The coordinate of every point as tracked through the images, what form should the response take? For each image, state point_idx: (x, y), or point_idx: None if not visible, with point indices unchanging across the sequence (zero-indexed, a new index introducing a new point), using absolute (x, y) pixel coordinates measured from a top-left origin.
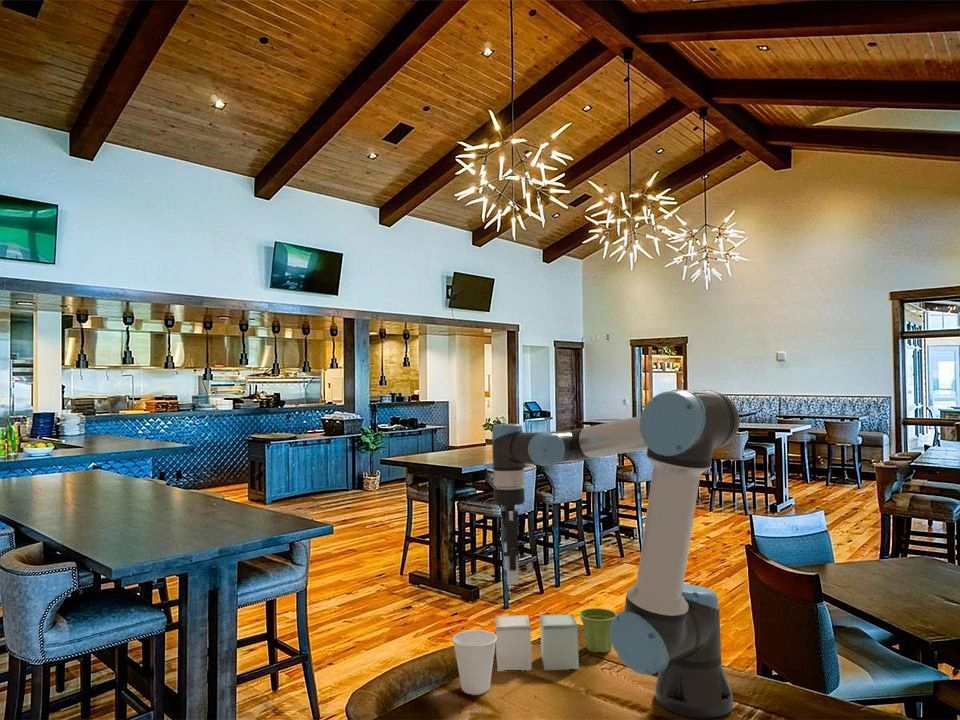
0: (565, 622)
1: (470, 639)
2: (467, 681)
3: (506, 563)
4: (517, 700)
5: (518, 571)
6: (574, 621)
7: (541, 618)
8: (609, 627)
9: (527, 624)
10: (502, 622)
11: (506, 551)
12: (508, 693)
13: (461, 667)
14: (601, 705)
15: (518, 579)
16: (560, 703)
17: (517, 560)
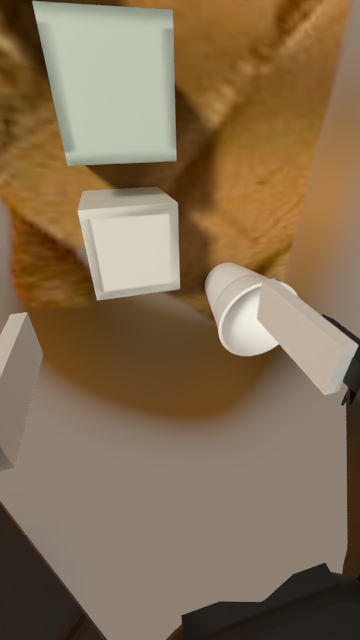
0: (142, 64)
1: (217, 326)
2: (251, 298)
3: (36, 365)
4: (268, 215)
5: (303, 302)
6: (130, 14)
7: (105, 162)
8: None
9: (162, 211)
10: (146, 278)
11: (22, 412)
12: (243, 230)
13: (256, 316)
14: (323, 33)
15: (284, 287)
16: (294, 133)
17: (336, 332)
